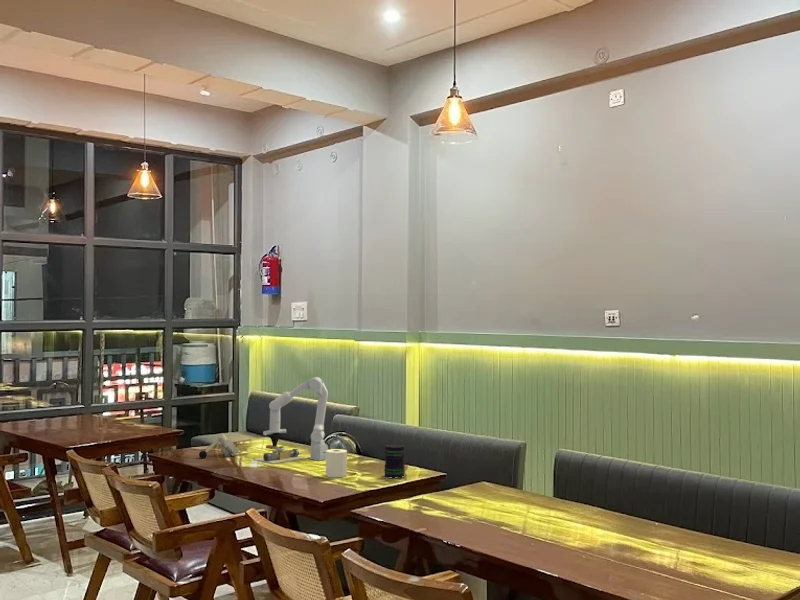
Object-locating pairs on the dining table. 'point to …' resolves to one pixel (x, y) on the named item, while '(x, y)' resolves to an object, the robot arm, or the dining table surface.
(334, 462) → the toilet paper
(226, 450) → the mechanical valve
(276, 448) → the lever
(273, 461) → the mounting board
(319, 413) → the robot arm
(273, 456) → the valve body
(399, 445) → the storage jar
